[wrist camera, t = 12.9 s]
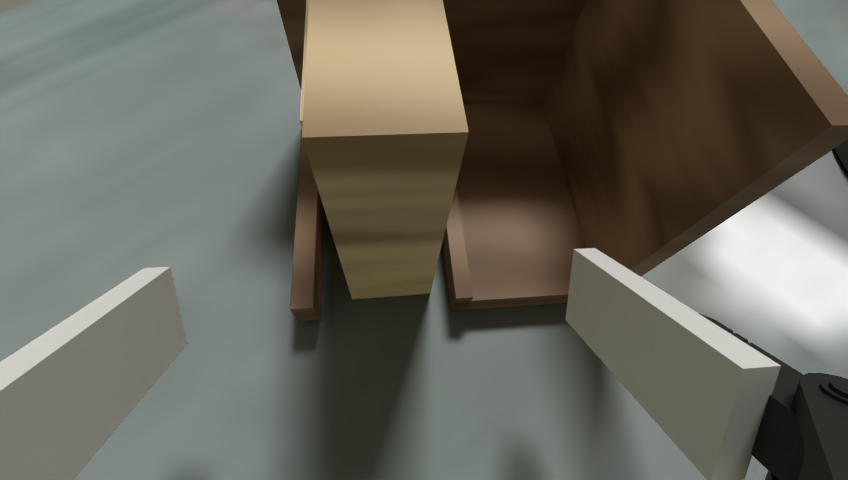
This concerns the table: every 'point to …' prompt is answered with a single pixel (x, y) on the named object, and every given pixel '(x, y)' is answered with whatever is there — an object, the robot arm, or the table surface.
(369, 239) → the tan block
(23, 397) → the robot arm
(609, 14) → the cabinet
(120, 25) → the table surface
